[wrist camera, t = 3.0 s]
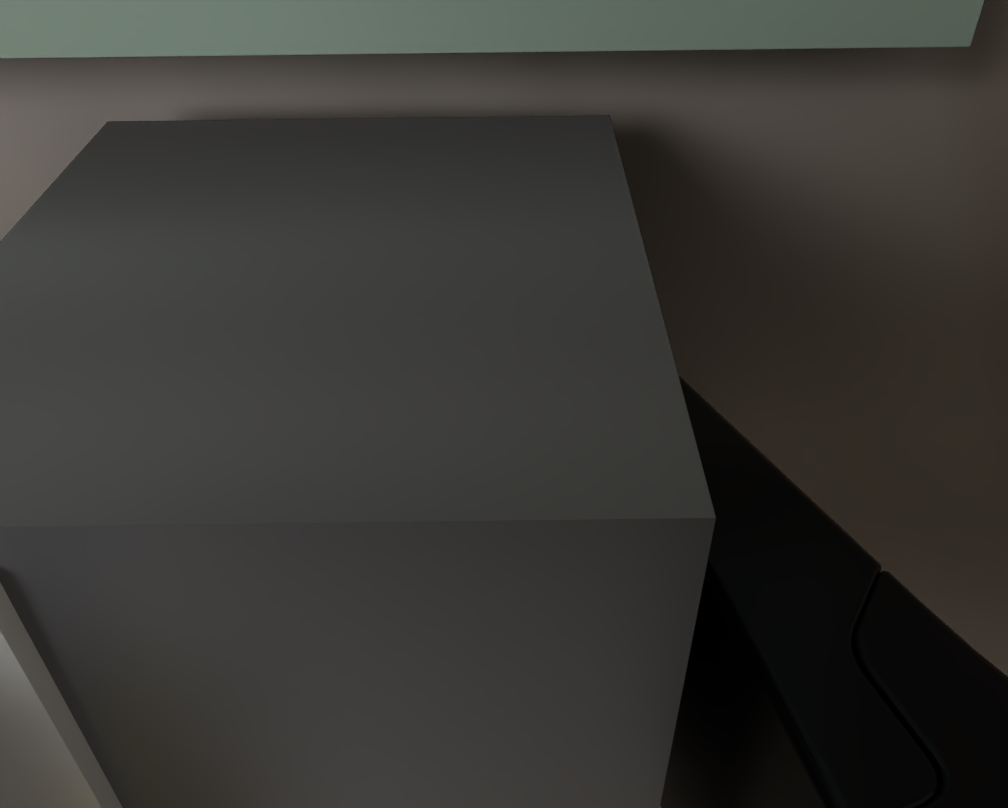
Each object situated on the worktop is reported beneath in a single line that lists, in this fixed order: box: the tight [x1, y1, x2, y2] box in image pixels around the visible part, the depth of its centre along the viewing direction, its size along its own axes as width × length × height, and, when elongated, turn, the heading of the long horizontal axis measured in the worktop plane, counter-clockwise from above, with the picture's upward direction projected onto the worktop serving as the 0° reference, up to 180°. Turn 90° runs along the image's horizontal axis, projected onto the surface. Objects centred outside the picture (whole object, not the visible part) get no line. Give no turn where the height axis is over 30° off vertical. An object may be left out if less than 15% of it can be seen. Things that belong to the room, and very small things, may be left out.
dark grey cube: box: [0, 115, 716, 808], centre depth 7 cm, size 4×4×5 cm
